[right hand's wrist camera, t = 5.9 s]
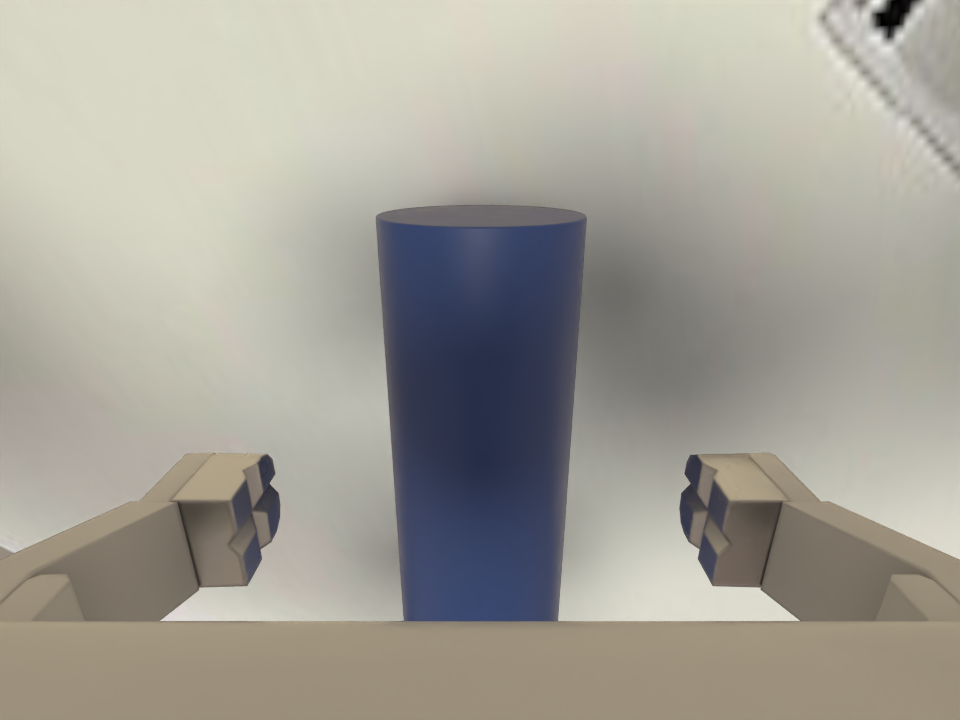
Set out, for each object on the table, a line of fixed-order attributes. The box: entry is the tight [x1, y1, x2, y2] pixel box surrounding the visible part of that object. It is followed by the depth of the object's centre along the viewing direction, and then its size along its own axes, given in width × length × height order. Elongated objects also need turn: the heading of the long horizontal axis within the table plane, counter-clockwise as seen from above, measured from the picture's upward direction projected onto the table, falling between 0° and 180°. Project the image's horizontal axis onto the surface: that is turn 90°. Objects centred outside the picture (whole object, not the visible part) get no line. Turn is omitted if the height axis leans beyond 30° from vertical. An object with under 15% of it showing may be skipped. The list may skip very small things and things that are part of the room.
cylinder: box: [376, 205, 587, 621], centre depth 20 cm, size 26×6×6 cm, turn 0°
